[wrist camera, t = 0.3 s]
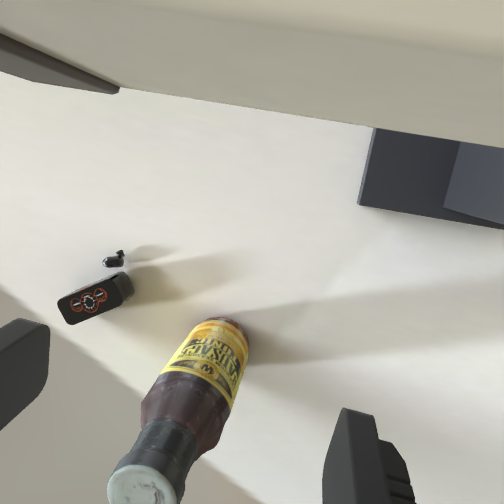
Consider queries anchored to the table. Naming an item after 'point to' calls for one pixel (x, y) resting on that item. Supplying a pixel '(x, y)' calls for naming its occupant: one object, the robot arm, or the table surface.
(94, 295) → the wireless earbuds
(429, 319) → the table surface
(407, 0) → the cream rectangular bar
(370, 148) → the dark grey pillar
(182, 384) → the sauce bottle
